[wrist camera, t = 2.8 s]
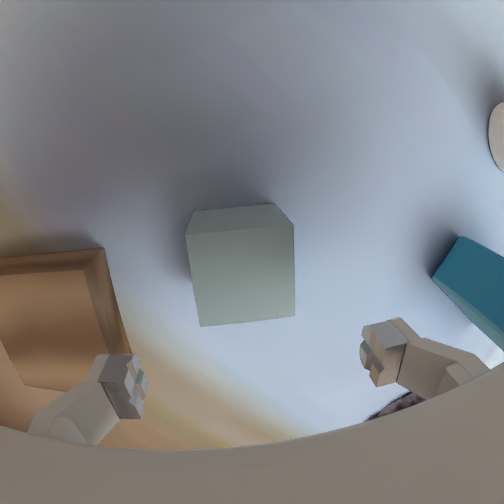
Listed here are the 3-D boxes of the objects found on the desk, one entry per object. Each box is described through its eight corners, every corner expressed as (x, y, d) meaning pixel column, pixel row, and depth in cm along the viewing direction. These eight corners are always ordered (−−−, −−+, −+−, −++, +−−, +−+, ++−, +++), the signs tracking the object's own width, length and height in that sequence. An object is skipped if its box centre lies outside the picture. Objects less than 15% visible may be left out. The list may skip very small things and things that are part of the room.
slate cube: (193, 211, 18) (184, 235, 14) (274, 203, 19) (293, 224, 14) (203, 284, 20) (200, 326, 15) (277, 276, 20) (294, 315, 16)
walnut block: (4, 256, 18) (-24, 277, 14) (105, 246, 19) (83, 269, 15) (41, 357, 21) (24, 385, 18) (136, 362, 22) (126, 396, 18)
